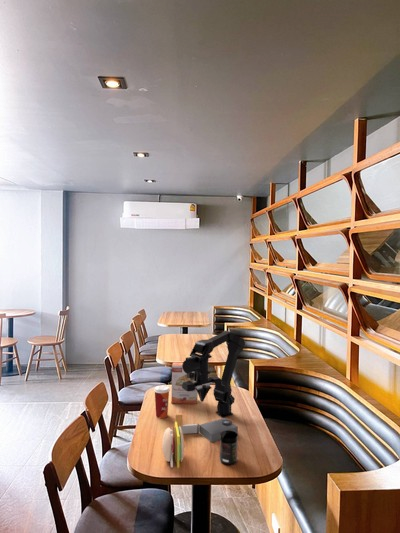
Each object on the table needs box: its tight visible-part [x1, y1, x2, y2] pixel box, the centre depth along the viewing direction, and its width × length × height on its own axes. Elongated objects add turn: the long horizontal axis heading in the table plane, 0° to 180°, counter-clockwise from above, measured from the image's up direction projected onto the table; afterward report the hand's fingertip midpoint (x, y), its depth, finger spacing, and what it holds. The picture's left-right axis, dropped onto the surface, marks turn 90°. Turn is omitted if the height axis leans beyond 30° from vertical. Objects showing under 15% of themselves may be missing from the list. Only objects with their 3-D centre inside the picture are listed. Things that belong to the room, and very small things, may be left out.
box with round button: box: [198, 417, 239, 443], centre depth 164 cm, size 14×10×4 cm
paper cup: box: [153, 384, 171, 419], centre depth 181 cm, size 8×8×14 cm
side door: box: [174, 413, 200, 435], centre depth 163 cm, size 1×11×9 cm, turn 98°
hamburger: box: [161, 421, 185, 469], centre depth 143 cm, size 12×8×12 cm
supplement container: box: [219, 430, 239, 466], centre depth 142 cm, size 7×7×10 cm
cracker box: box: [171, 362, 199, 405], centre depth 198 cm, size 14×6×21 cm, turn 89°
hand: (201, 401), depth 172 cm, fingers closed
